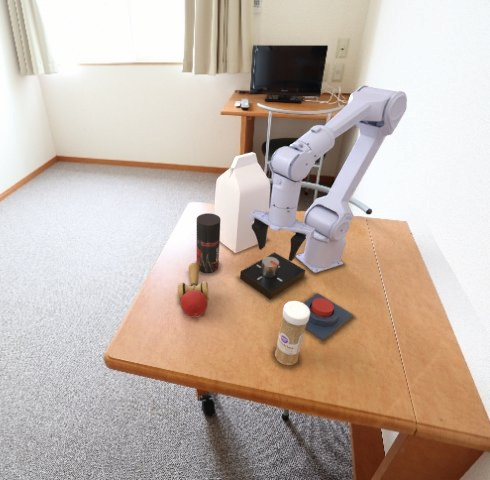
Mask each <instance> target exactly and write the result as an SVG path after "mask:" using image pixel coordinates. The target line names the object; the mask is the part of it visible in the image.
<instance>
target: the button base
mask: <svg viewBox="0 0 490 480" xmlns="http://www.w3.org/2000/svg"><path fill="white" fill-rule="evenodd" d="M317 298H323V299H326V300H328V301H330V302H331V303H332V304H333V306H334V309H333V312H332V314H331V316H329V317H321V316H317V315H316V314H314V313H313V312H312V310H311V306H312V302H313V300H314V299H317ZM303 303H304V304H305V305H306V306H307V307H308V308H309V310H310V316H309V320H308V322H307V324H306V328H305V331H308V332H309V333H310V334H312V335H313V336H315V337H316V338H317V339H319V340H320V341H321V342H324V341H325V340H327V338H329V337H330V336H332V334H334V333H335V332H336V331H337V330H339V328H341V327H342V326H344V324H346V323H347V322H348V321H349V320H350V319H352V318H353V316H354V314H353V313H352V312H349V311H348V310H347V309H344V308H343V307H341V306H340V305H338V304H336V303H335V302H333V301H331V300H330V299H328V298H326V297H325V296H324V295H322V294H320V293H319V292H317V293H315V294H314V295H313V296H311V297H310V298H309V299H307V300H305V301H304V302H303Z"/></svg>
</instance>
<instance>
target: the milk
mask: <svg viewBox="0 0 490 480" xmlns="http://www.w3.org/2000/svg"><path fill="white" fill-rule="evenodd" d="M270 201H271V182H270V179H269V178H268V176H267V175H266V173H265V172H264V170H263V168H262V166H261V165H260V164H259V161H258V158H257V153H255V152H253V151H251V152H246V153H244V154H240V155H237V156H234V158H233V160H232V163H231V164H230V167H229V168H228V169H227V170H226V171H225V172H223V173H221V175H220V176H218V177H217V179H216V182H215V193H214V205H213V214H215V215H218V216H219V217H220V220H221V221H220V243H221V244H223V245H224V246H225V247H227V248H228V249H229V250H231V252H233V253H234V254H237V253H240V252H242V251H244V250H246V249H250V248H252V247H254V246H258V241H257V238H256V235H255V233H254V231H253V229H252V224H253V223H254V221H252V220H250V215H251V212H252V211H254V210H258V211H264V212H269V211H270ZM268 233H269V230H268V231H267V234H268ZM266 241H268V236H267V237H266Z"/></svg>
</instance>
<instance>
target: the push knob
mask: <svg viewBox="0 0 490 480" xmlns="http://www.w3.org/2000/svg"><path fill="white" fill-rule="evenodd" d="M328 300H329V299H328ZM328 300H326V299H323V298H317V299H314V300H313V302H312V306H311V310H312V312H313V313H314V314H316V315H317V316H321V317H329V316H331V314H332V312H333V309H334V306H333V304H332V303H331V302H332V301H331V300H330V301H331V302H330V301H328Z"/></svg>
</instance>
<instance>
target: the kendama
mask: <svg viewBox="0 0 490 480" xmlns="http://www.w3.org/2000/svg"><path fill="white" fill-rule="evenodd" d="M199 270H200V267H199V265H198V264H197V262H192V263H190V264H189V265H188V275H189V284H190V285H188V284H186V283H185V282H183V281H182V282H178V284H177V296H178V300H179V303H180V307H181V310H182V312H183V313H184V314H185V315H186V316H188V317H191V318H197V317H200V316H202V315H203V314H204V313H205V312H206V311H207V308H208V300H209V299H210V295H209V293H210V292H209V285H208V281H207V280H203V281H202V282H201V283H199V278H200V277H199V276H200V271H199Z"/></svg>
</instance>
